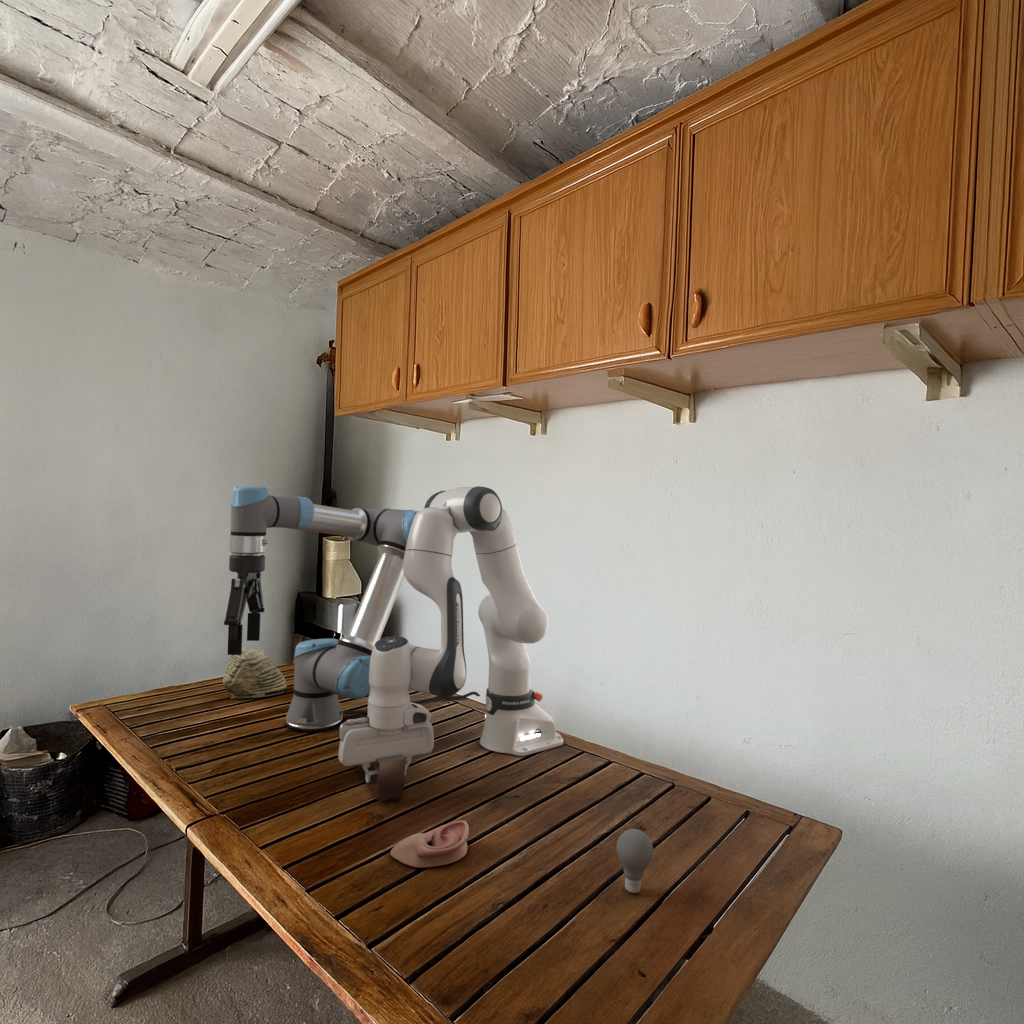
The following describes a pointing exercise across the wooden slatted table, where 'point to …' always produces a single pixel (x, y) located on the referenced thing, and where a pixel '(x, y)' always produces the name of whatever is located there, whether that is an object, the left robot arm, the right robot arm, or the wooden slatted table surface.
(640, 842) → the light bulb
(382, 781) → the bar
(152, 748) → the wooden slatted table surface
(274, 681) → the fossil
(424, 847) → the anatomical model
